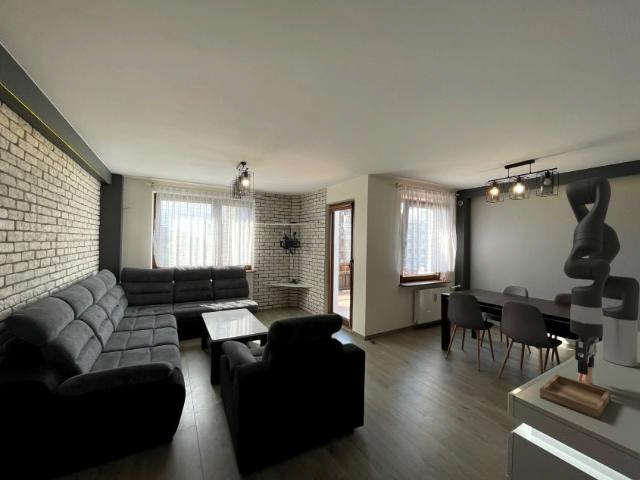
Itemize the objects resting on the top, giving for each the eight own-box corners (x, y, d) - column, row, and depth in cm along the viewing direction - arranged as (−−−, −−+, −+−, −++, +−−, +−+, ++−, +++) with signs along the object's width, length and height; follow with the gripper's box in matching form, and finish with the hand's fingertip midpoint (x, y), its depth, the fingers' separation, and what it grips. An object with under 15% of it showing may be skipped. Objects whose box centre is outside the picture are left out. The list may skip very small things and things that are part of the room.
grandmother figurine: (578, 378, 90) (578, 340, 90) (594, 383, 87) (594, 344, 87) (577, 386, 84) (577, 346, 85) (595, 391, 82) (595, 350, 82)
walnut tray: (556, 382, 87) (556, 374, 87) (610, 400, 77) (610, 391, 77) (539, 397, 78) (539, 388, 78) (598, 419, 68) (598, 410, 68)
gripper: (576, 314, 93) (576, 360, 93) (564, 320, 85) (564, 371, 85) (607, 319, 87) (607, 369, 87) (597, 326, 79) (597, 381, 79)
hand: (586, 370), depth 86 cm, fingers closed on grandmother figurine, 8 cm apart
